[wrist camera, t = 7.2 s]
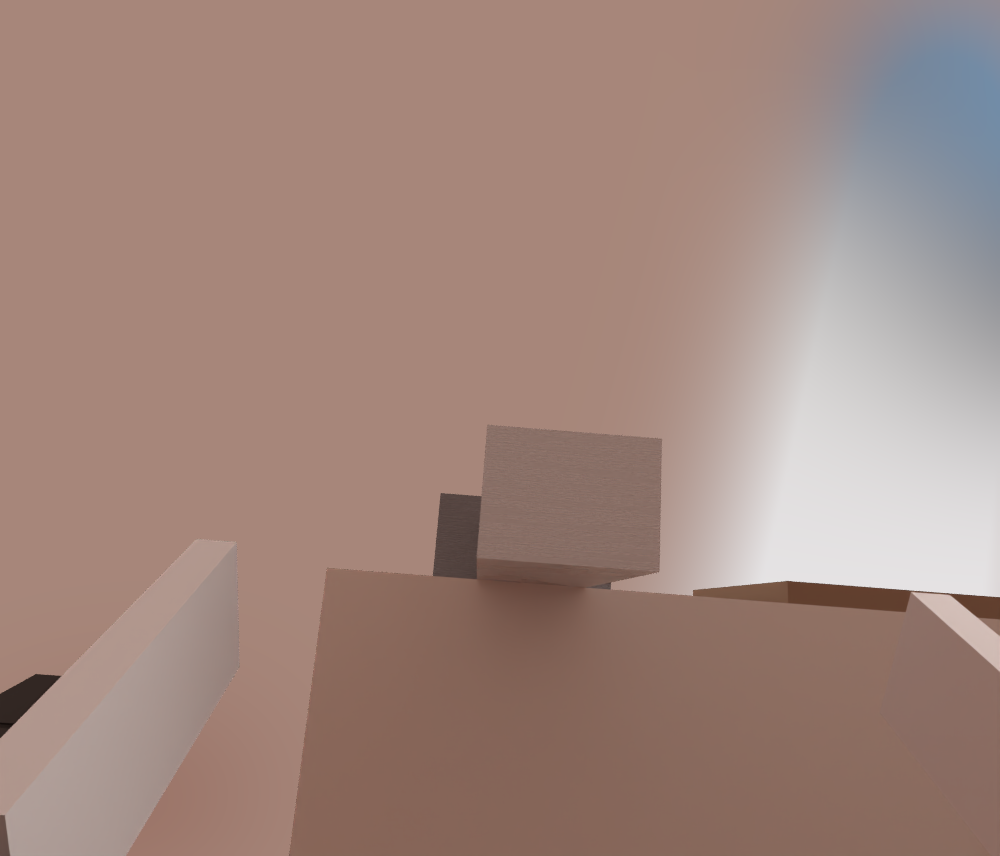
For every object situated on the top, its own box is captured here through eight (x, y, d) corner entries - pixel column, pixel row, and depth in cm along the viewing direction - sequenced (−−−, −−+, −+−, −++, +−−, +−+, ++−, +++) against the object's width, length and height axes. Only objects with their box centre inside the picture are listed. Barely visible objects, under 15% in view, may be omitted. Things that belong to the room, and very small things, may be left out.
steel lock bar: (750, 578, 16) (748, 403, 17) (385, 550, 16) (404, 376, 17) (589, 597, 38) (592, 522, 39) (439, 586, 38) (446, 510, 39)
